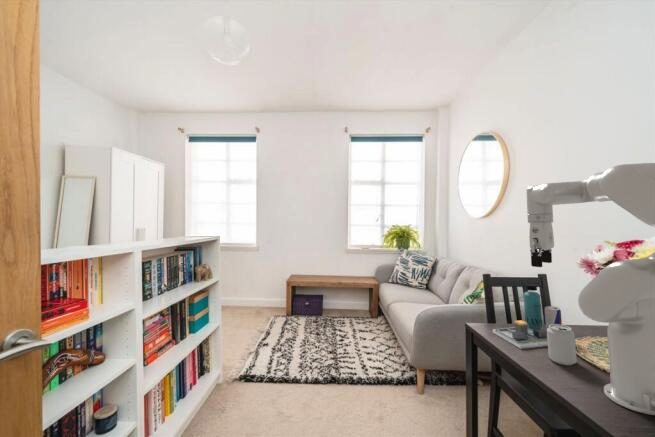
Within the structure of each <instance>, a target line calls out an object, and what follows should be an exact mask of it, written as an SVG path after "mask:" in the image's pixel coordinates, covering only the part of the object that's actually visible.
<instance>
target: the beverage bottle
mask: <svg viewBox="0 0 655 437" xmlns="http://www.w3.org/2000/svg"><path fill="white" fill-rule="evenodd" d="M525 290H526V291H525V292H524V293H523V294H522V295H523V307H524V309H523V310H524V313H523V314H524V315H523V316H524V322H527V323H528V325H527V327H528V328H530V329H541V330H542V329H543V325H544V324H543V321H544V320H543V315H542V314H543V313H542V301H541V297H542V296H541V294H539V293H538V292H537V291H538V286H537V285H536V284H532V283H530V284H526V285H525Z"/></svg>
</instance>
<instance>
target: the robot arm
mask: <svg viewBox="0 0 655 437" xmlns="http://www.w3.org/2000/svg"><path fill="white" fill-rule="evenodd" d="M592 202H593V203H594V202H599V203H600V202H601V203H604V202H613V203H615V204H616V205H617V206H619V207H620V208H622V209H623V210H625V211H627V212H628V213H629V214H631V215H632V216H634V218H636V219H638V220H639V221H641V222H642V223H644V224H646V225H648V226H650V227H653V228H655V162H649V163H648V162H644V163H642V162H641V163H627V164H626V163H624V164H618V165H615V166H613V167H611V168H608V169H606V170H605V171H602V172H600V171H599V172H596V173H594V174H593V175H591V176H590V177H589V178H588V179H584V180H577V181H562V182H560V181H559V182H549V183H544V184H541V185H540V184H537V185H530V186H528V187H527V188H526V210H527V213H526V216H527V223H528V224H529V248H530V250H529V251H530V265H531V267H535V268H543V263H545V264H551V263H552V262H553V256H552V249H553V248H554V247H555V238H554V230H553V224H552V223H554V214H553V212H554V211H553V208H554V207H553V206H555V205H556V206H557V205H571V204H572V205H573V204H574V205H575V204H585V203H592ZM577 302H578V303H577V304H578V307H579V309H580V311H581V312H582V313H583V315H584V316H585V317H587V319H591V320H592V321H595V322H597V323H604V324H605V323H608V325H607V329H606V331H607V332H606V335H607V336H606V337H607V347H608V349H607V353H608V365H609V366H608V367H609V376H610V383H607V384H604V386H603V393H604V394H605V396H606V397H607V398H608V399H610V401H613V402H614V403H615V404H618V405H619V406H621V407H624V408H626V409H629V410H632V411H635V412H638V413H641V414H645V415H651V416H655V251H654V252H652V253H651V254H649V255H648V256H645V257H641V258H635V259H624V260H623V259H622V260H617V261H614V262H612V263H610V264H608V265H607V266H605V267H603V268H602V269H601V271H599V272H598V274H596V275H595V277H593V278H592V279H591V281H589V282H588V283H587V284H586V285H585V286H584V287H583V288H582V290H581V291H580V292H579V295H578V299H577Z"/></svg>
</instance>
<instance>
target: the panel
mask: <svg viewBox="0 0 655 437" xmlns="http://www.w3.org/2000/svg"><path fill="white" fill-rule="evenodd" d="M527 329H528V336H525V333H523V332H521V331H515V326H513V327H512V326H511V327H503V328H502V327H501V328H494V329H492V334H495V335H496V336H498V337H500V338H501V339H502V340H504V341H506V342H508V343H509V344H511V345H513V346H515V347H516V348H519V349H520V350H522V349H523V350H524V349H532V348H543V347H548V338H547V335H546V330H544V329H542V328H541V329H533V328H529V327H527Z"/></svg>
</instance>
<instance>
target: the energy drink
mask: <svg viewBox="0 0 655 437" xmlns="http://www.w3.org/2000/svg"><path fill="white" fill-rule="evenodd" d="M544 320H545V331H546V336H547V329H548V328H549V325H551V324H560V325H563V322H562V310H561V308H559V307H558V306H553V305H552V306H551V305H548V306H544Z"/></svg>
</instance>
